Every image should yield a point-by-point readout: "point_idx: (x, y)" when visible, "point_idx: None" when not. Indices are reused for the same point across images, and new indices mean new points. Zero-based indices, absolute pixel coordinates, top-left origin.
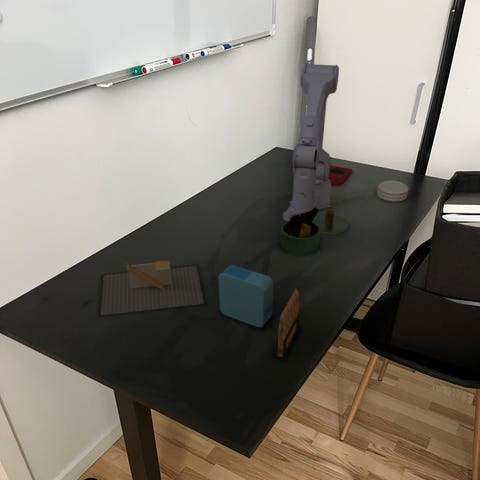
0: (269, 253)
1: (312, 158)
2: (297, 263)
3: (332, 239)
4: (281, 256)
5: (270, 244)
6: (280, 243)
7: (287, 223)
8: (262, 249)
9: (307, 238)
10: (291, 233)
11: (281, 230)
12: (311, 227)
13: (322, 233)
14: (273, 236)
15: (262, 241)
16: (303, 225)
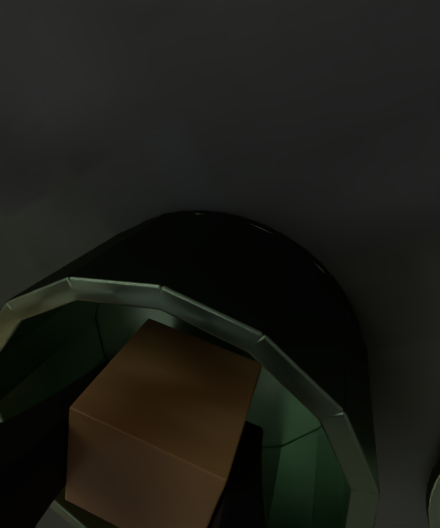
0: (15, 191)
1: None
2: None
3: (386, 517)
4: (38, 275)
5: (110, 142)
6: (109, 239)
7: (195, 321)
8: (19, 116)
9: (53, 506)
10: (80, 378)
11: (5, 306)
12: (331, 497)
13: (428, 484)
14: (244, 99)
15: (110, 43)
16: (166, 513)
